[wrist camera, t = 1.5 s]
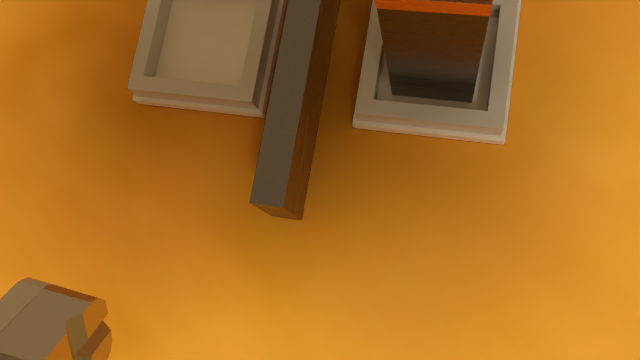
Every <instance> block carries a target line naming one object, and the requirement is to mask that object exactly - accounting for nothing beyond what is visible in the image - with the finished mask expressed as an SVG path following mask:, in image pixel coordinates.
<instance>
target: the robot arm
mask: <svg viewBox="0 0 640 360" xmlns="http://www.w3.org/2000/svg"><path fill="white" fill-rule="evenodd" d="M107 314H108V311H107V306H106V302H105V300H103V299H100V298H96V297H93V296H90V295H86V294H83V293H80V292H76V291H73V290H70V289H66V288H63V287H60V286H56V285H53V284H50V283H46V282H42V281H39V280H35V279H32V278H25V279H23V280H21V281H19V282H17V283H16V284H15V285H14V286H13V287H12V288H11V289H10V290H9V291H8V292H7V293H6V294H5V295H4V296H3V297H2V298H1V299H0V360H107V359H108V357H109V354H110V351H111V344H112V335H111V330H110V329H109V327H108V326H107V325H106V324H105V323H104V321H103V319H104V318H105V316H106V315H107Z"/></svg>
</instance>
